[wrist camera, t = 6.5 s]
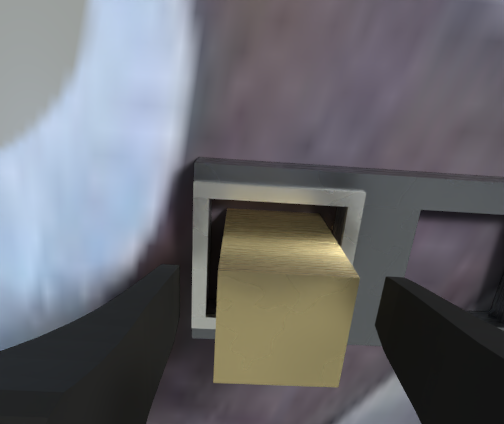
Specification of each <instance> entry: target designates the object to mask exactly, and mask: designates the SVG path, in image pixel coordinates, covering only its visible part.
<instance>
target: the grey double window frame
mask: <svg viewBox="0 0 504 424" xmlns="http://www.w3.org/2000/svg"><path fill="white" fill-rule="evenodd" d="M212 199H226V200H242V201H259V202H276V203H292V204H309V205H325V206H337V210H336V216H335V222H334V229H333V236H334V238H335V239H336V241H337V243H338V244H339V246H340V247H341V249H342V250H343V252H344V253H345V255H346V257H347V258H348V260H349V261H350V263H351V264H352V266H353V268H354V269H355V271H356V272H357V274H358V275H359V277H360V281H359V286H358V291H357V296H356V301H355V306H354V311H353V316H352V321H351V326H350V331H349V336H348V341H347V345H370V346H382V345H381V342H380V339H379V336H378V333H377V330H376V327H375V321H376V317H377V313H378V308H379V304H380V300H381V295H382V291H383V286H384V282H385V278H386V276H389V277H404V276H405V272H406V268H407V264H408V260H409V256H410V252H411V248H412V244H413V240H414V236H415V232H416V228H417V224H418V220H419V216H420V212H421V210H433V211H450V212H466V213H483V214H499V215H504V177H493V176H478V175H463V174H447V173H432V172H417V171H402V170H387V169H371V168H356V167H341V166H326V165H311V164H295V163H280V162H265V161H250V160H234V159H219V158H204V157H198V159H197V160H196V161H195V163H194V182H193V251H192V327H191V328H192V338H200V339H215V332H216V308H217V299H209V275H210V244H211V213H212ZM466 312H468V313H470V314H472V315H474V316H475V317H477V318H479V319H481V320H483V321H485V322H487V323H489V324H491V325H493V326H495V327H497V328H499V329H501V330H503V331H504V274H503V276H502V279H501V282H500V285H499V288H498V290H497V293H496V296H495V299H494V302H493V304H492V307H491V310H490V312H480V311H466Z"/></svg>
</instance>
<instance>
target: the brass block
mask: <svg viewBox="0 0 504 424" xmlns="http://www.w3.org/2000/svg"><path fill="white" fill-rule="evenodd" d="M359 281H360V277H359V275H358V274H357V272H356V271H355V269H354V268H353V266H352V264H351V263H350V261H349V260H348V258H347V257H346V255H345V253H344V252H343V250H342V249H341V247H340V246H339V244H338V243H337V241H336V239H335V238H334V236H333V235H332V233H331V232H330V230H329V228H328V227H327V225H326V224H325V222H324V221H323V219H322V217H321V216H320V214H319V213H303V212H286V211H269V210H252V209H235V208H227V214H226V220H225V227H224V234H223V241H222V247H221V254H220V261H219V268H218V284H217V308H216V332H215V356H214V380H213V383H231V384H259V385H287V386H315V387H338V386H339V381H340V376H341V371H342V366H343V361H344V356H345V351H346V346H347V341H348V336H349V331H350V326H351V321H352V316H353V311H354V306H355V301H356V296H357V291H358V286H359Z"/></svg>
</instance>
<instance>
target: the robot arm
mask: <svg viewBox="0 0 504 424" xmlns="http://www.w3.org/2000/svg"><path fill="white" fill-rule="evenodd" d="M179 316H180V265H167V264H161V265H160V266H158V267H157V268H156V269H154V270H153V271H152V272H150V273H149V274H148V275H147V276H145V277H144V278H143V279H141V280H140V281H138V282H137V283H136V284H134V285H133V286H132V287H130V288H129V289H128V290H126V291H125V292H123V293H122V294H120V295H118V296H117V297H115V298H114V299H112V300H111V301H109V302H108V303H106V304H105V305H103V306H101V307H100V308H98V309H96V310H94V311H93V312H91V313H89V314H87V315H85V316H83V317H81V318H79V319H78V320H76V321H74V322H72V323H70V324H67V325H65V326H63V327H60V328H58V329H56V330H54V331H51V332H49V333H47V334H44V335H42V336H40V337H38V338H35V339H32V340H30V341H27V342H24V343H22V344H19V345H16V346H14V347H11V348H8V349H5V350H2V351H0V424H146V421H147V418H148V414H149V411H150V408H151V405H152V402H153V399H154V396H155V393H156V391H157V388H158V385H159V382H160V379H161V377H162V374H163V371H164V368H165V366H166V363H167V360H168V357H169V354H170V352H171V349H172V346H173V343H174V339H175V335H176V331H177V326H178V321H179ZM375 327H376V330H377V333H378V336H379V339H380V342H381V345H382V347H383V350H384V352H385V354H386V356H387V358H388V360H389V362H390V364H391V366H392V368H393V370H394V372H395V373H396V375H397V377H398V379H399V381H400V383H401V385H402V387H403V388H404V390H405V392H406V394H407V396H408V398H409V400H410V402H411V404H412V405H413V407H414V409H415V411H416V413H417V415H418V417H419V419H420V421H421V423H422V424H504V331H503V330H501V329H499V328H497V327H495V326H493V325H491V324H489V323H487V322H485V321H483V320H481V319H479V318H477V317H475V316H474V315H472V314H470V313H468V312H466V311H464V310H463V309H461V308H459V307H457V306H455V305H454V304H452V303H450V302H448V301H447V300H445V299H443V298H441V297H440V296H438V295H436V294H434V293H433V292H431V291H429V290H427V289H425V288H424V287H422V286H420V285H418V284H416V283H414V282H412V281H410V280H408V279H406V278H404V277H389V276H386V278H385V282H384V286H383V291H382V295H381V300H380V304H379V308H378V313H377V317H376V321H375Z"/></svg>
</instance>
